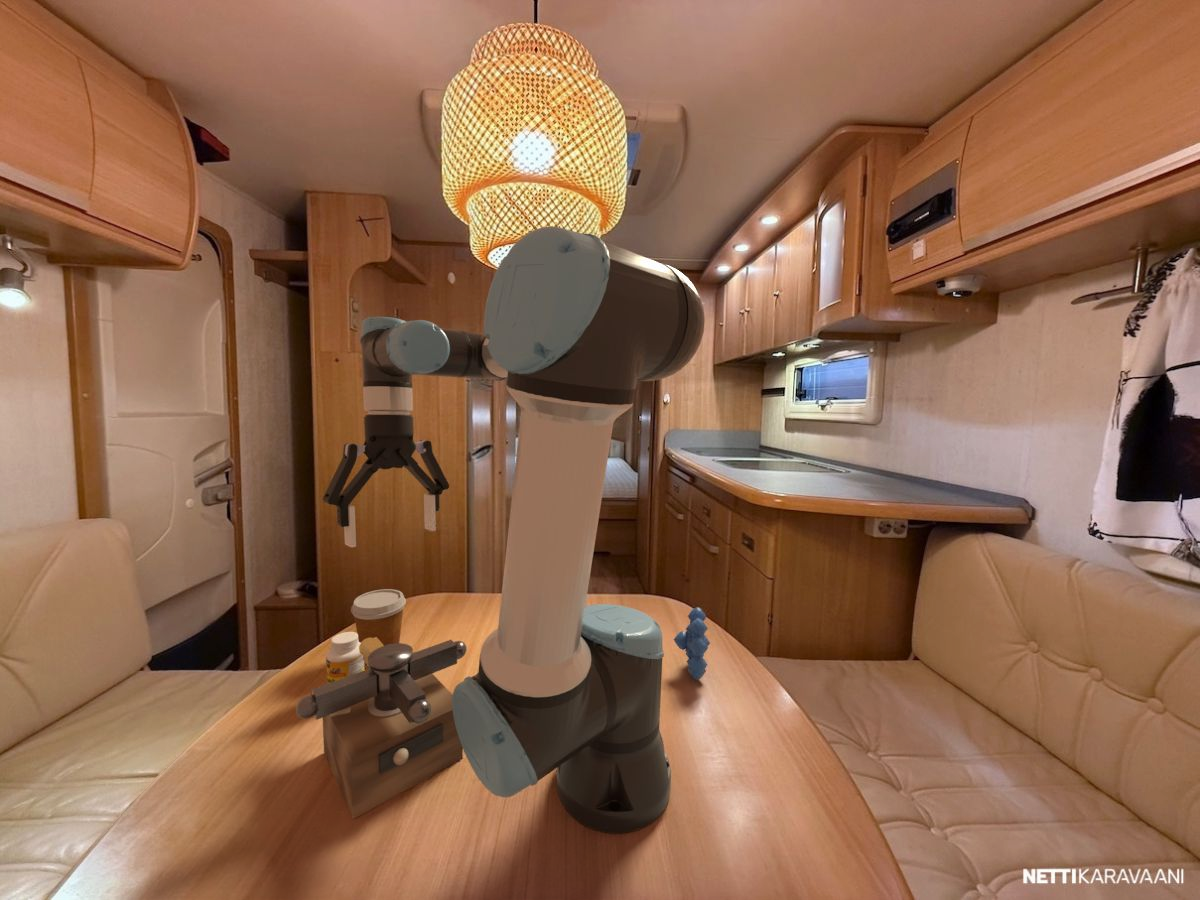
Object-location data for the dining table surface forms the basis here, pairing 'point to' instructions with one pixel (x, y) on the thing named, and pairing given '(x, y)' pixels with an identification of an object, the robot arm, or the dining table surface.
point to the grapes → (694, 643)
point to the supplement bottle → (344, 657)
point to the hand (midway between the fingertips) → (392, 537)
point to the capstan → (385, 680)
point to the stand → (389, 747)
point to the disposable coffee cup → (379, 615)
